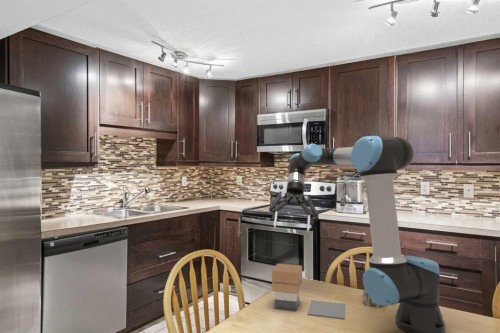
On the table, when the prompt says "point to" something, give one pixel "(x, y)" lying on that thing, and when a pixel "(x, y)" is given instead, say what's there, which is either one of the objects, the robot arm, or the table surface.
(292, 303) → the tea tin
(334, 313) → the rubber mat
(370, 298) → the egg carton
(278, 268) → the wooden block stack
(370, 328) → the table surface
